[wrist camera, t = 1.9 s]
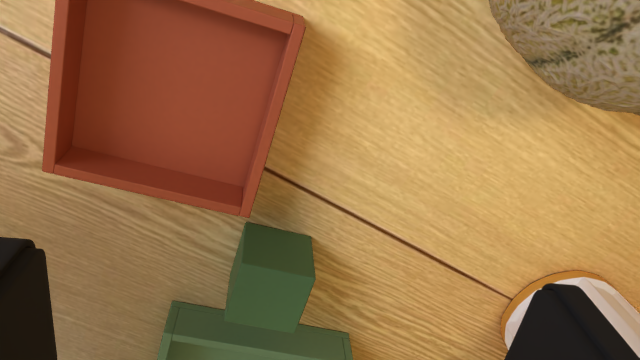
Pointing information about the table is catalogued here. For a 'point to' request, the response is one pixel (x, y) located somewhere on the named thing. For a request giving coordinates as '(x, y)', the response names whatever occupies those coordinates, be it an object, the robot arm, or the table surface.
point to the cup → (611, 303)
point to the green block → (270, 278)
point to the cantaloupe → (579, 47)
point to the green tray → (243, 339)
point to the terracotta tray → (169, 96)
